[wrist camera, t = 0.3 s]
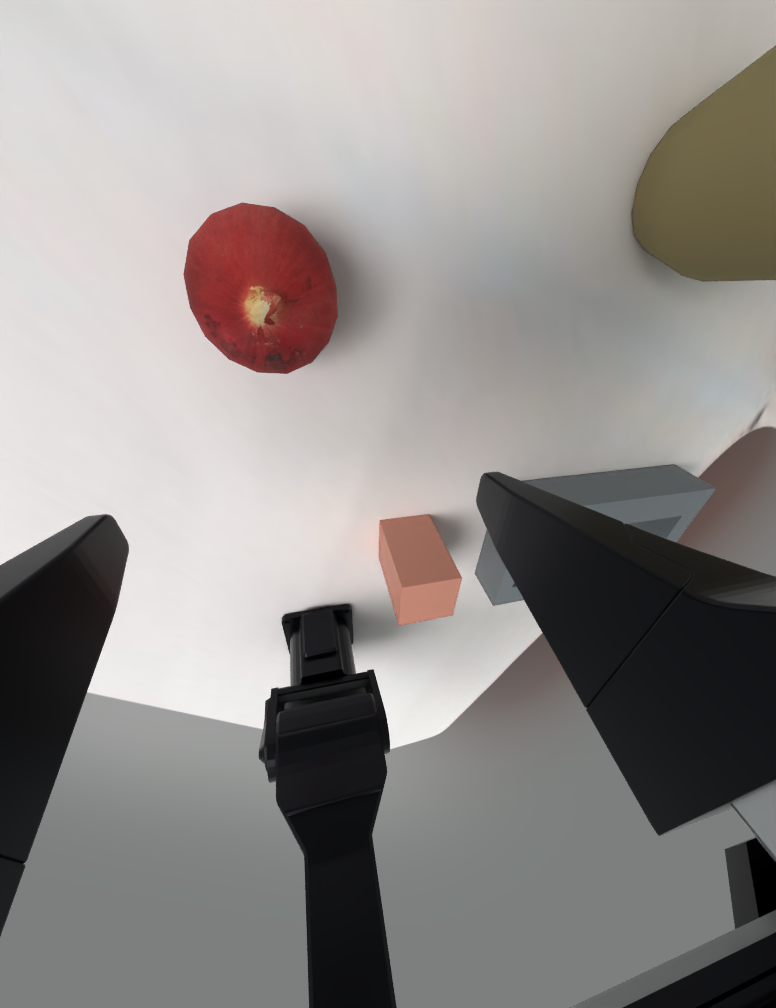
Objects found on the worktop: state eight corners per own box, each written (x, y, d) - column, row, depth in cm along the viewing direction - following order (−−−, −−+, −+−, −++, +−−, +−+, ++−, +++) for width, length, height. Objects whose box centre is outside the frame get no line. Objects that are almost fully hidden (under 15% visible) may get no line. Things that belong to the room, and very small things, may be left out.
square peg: (423, 550, 31) (452, 615, 26) (378, 556, 30) (398, 625, 25) (428, 514, 29) (461, 577, 23) (379, 520, 28) (402, 587, 22)
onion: (328, 353, 19) (349, 406, 13) (217, 348, 18) (182, 404, 12) (328, 220, 16) (355, 208, 10) (190, 201, 15) (121, 173, 8)
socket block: (622, 549, 39) (651, 576, 36) (474, 573, 35) (493, 605, 32) (674, 464, 32) (716, 488, 29) (499, 483, 28) (525, 513, 25)
